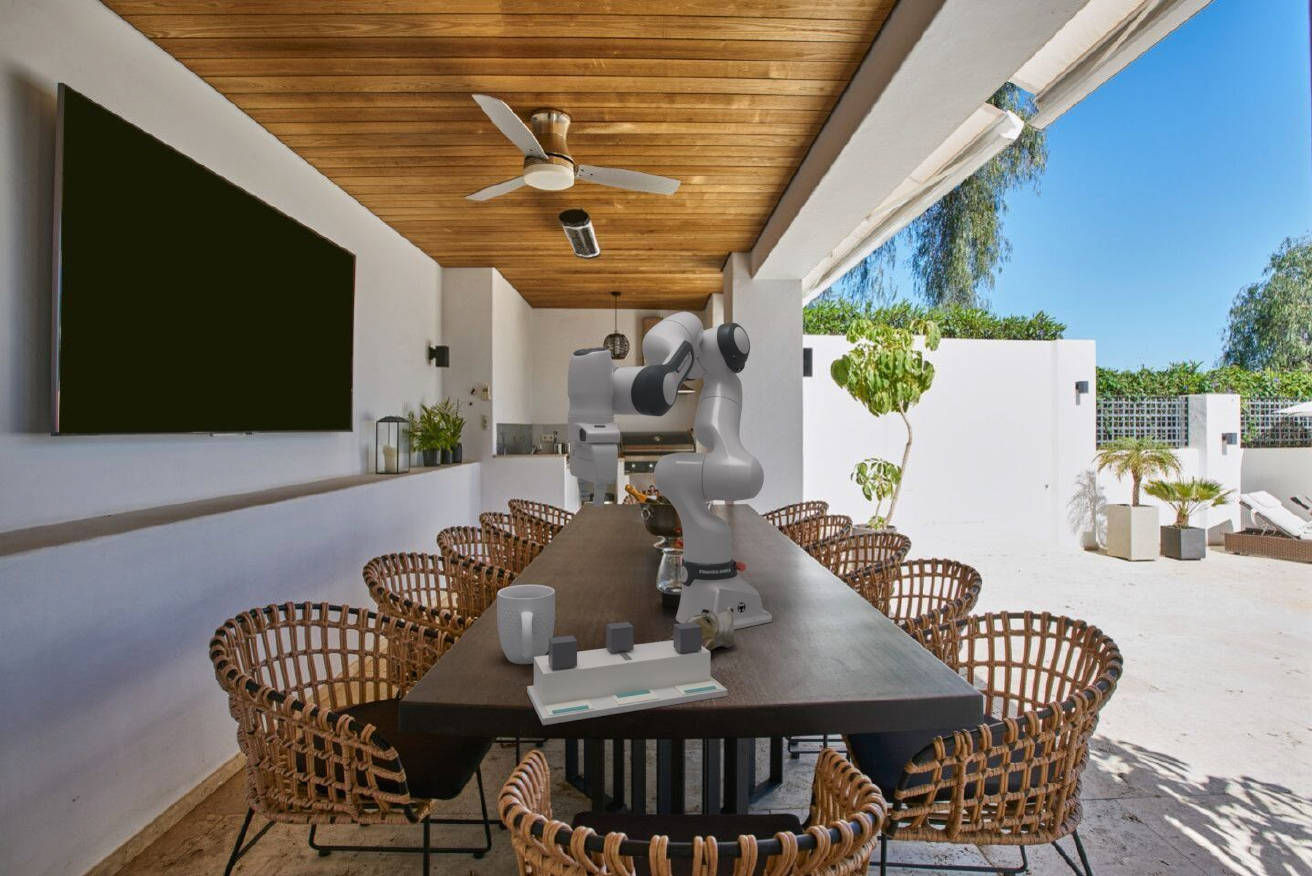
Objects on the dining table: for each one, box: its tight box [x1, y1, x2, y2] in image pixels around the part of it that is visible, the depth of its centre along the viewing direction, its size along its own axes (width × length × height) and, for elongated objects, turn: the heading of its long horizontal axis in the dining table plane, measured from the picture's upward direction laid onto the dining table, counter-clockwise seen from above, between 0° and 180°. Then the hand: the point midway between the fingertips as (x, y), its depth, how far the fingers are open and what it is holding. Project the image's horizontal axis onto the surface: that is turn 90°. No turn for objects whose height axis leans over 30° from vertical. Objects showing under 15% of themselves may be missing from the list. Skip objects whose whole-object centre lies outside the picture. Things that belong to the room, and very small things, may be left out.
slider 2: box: [673, 622, 702, 653], centre depth 113 cm, size 4×3×4 cm
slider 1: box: [547, 634, 578, 669], centre depth 105 cm, size 4×3×4 cm
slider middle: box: [605, 621, 635, 652], centre depth 112 cm, size 4×3×4 cm
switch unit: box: [526, 640, 729, 726], centre depth 109 cm, size 31×13×6 cm, turn 111°
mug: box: [496, 584, 556, 665], centre depth 123 cm, size 15×11×13 cm
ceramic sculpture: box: [659, 609, 735, 652], centre depth 130 cm, size 11×9×15 cm
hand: (591, 503), depth 125 cm, fingers open, 8 cm apart
